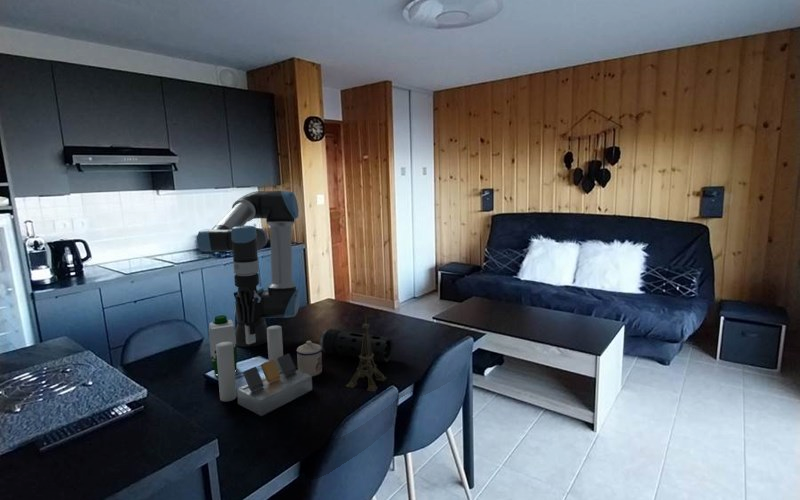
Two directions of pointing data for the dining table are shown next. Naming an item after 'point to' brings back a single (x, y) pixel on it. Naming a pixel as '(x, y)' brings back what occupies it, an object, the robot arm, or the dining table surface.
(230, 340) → the milk carton
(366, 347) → the eiffel tower
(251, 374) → the paddle left
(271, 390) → the block
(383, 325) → the dining table surface
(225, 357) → the post near
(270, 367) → the block
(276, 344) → the post far
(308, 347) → the teacup with lid
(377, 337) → the muzzle brake
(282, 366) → the paddle right
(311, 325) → the dining table surface
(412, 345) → the dining table surface
